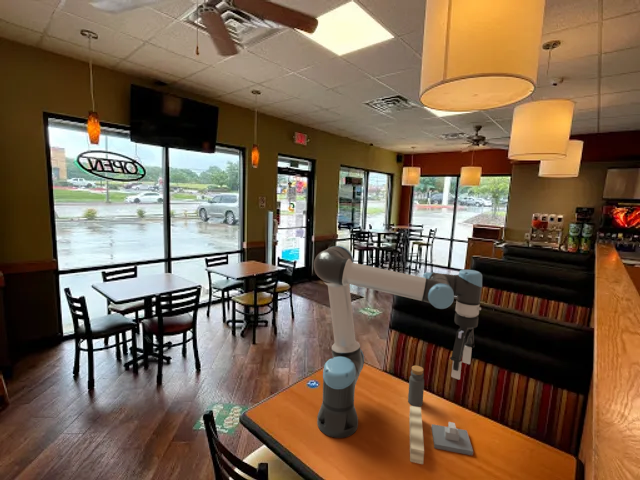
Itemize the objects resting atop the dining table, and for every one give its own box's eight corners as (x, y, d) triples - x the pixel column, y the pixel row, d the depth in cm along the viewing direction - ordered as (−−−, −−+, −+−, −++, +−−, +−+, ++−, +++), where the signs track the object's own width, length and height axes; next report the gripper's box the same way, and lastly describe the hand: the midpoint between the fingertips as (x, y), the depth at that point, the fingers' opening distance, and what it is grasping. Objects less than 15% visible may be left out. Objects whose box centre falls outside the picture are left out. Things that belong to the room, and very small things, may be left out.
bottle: (423, 407, 128) (425, 373, 126) (408, 405, 130) (410, 371, 128) (421, 399, 134) (424, 365, 132) (407, 397, 135) (409, 363, 133)
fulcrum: (434, 448, 107) (435, 431, 107) (431, 427, 117) (432, 412, 116) (472, 455, 105) (474, 439, 104) (466, 434, 114) (467, 418, 114)
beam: (423, 465, 101) (424, 450, 100) (410, 462, 102) (410, 448, 101) (420, 419, 122) (420, 407, 121) (409, 417, 123) (410, 405, 122)
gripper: (468, 327, 100) (462, 389, 103) (486, 307, 119) (480, 360, 122) (444, 320, 105) (439, 380, 107) (465, 303, 124) (460, 354, 127)
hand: (461, 370), depth 115 cm, fingers open, 13 cm apart
